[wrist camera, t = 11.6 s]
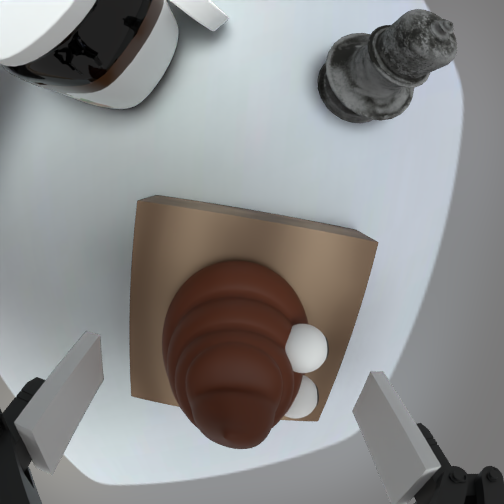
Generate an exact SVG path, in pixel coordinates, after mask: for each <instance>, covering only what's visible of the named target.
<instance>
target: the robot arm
mask: <svg viewBox="0 0 504 504" xmlns="http://www.w3.org/2000/svg"><path fill="white" fill-rule="evenodd" d="M103 380H104V376H103V366H102V354H101V339H100V334H96V333H92V332H88V331H86V332H85V333H84V334H83V335H82V336H81V338H80V339H79V340H78V341H77V342H76V344H75V345H74V346H73V347H72V348H71V350H70V351H69V352H68V353H67V354H66V356H65V357H64V358H63V359H62V361H61V362H60V363H59V364H58V365H57V367H56V368H55V369H54V370H53V372H52V373H51V374H50V375H49V377H48V378H47V379H46V380H43V379H41V378H38V377H36V378H34V379H33V380H31V381H29V382H27V384H26V385H25V386H24V387H23V388H22V390H21V391H20V392H19V393H18V395H17V397H15V398H14V400H13V401H12V402H11V403H10V405H9V406H8V407H7V408H6V410H5V411H4V412H3V413H2V412H1V409H0V504H42V502H41V500H40V497H39V495H38V492H37V489H36V486H35V483H34V480H33V477H32V474H31V471H30V469H29V467H28V466H29V464H30V462H31V460H32V461H33V463H34V465H35V467H36V468H37V469H39V470H41V471H44V472H46V473H48V474H51V475H53V474H54V472H55V469H56V467H57V465H58V463H59V461H60V459H61V457H62V455H63V454H64V452H65V450H66V448H67V446H68V444H69V442H70V440H71V438H72V436H73V434H74V432H75V430H76V429H77V427H78V425H79V423H80V421H81V419H82V417H83V416H84V414H85V412H86V410H87V408H88V406H89V405H90V403H91V401H92V399H93V398H94V396H95V394H96V392H97V390H98V389H99V387H100V385H101V383H102V382H103ZM353 414H354V416H355V418H356V421H357V423H358V425H359V428H360V430H361V432H362V435H363V437H364V439H365V442H366V444H367V447H368V449H369V452H370V454H371V456H372V459H373V461H374V464H375V466H376V469H377V471H378V473H379V476H380V478H381V481H382V483H383V486H384V488H385V491H386V493H387V496H388V498H389V501H390V503H391V504H407V503H408V502H409V501H410V500H411V499H412V498H413V497H415V499H416V502H415V503H414V504H504V481H503V476H502V474H501V472H500V471H499V470H498V469H497V468H495V467H492V466H487V467H485V468H484V469H483V470H482V471H481V472H480V473H479V474H467V473H466V472H465V471H464V470H463V469H462V468H460V467H457V466H451V465H450V463H449V462H448V460H447V458H446V457H445V455H444V454H443V452H442V450H441V449H440V447H439V445H437V442H436V441H435V439H433V436H432V434H431V433H430V431H429V430H428V429H427V428H426V427H425V426H424V425H422V424H421V423H418V424H416V423H415V421H414V420H413V418H412V416H411V415H410V413H409V412H408V410H407V408H406V407H405V405H404V403H403V402H402V401H401V399H400V397H399V396H398V394H397V392H396V391H395V389H394V388H393V386H392V385H391V383H390V381H389V380H388V378H387V377H386V375H385V374H384V372H376V371H370V374H369V376H368V378H367V381H366V383H365V385H364V387H363V390H362V392H361V394H360V396H359V398H358V400H357V402H356V405H355V407H354V409H353Z"/></svg>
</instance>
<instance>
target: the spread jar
mask: <svg viewBox="0 0 504 504" xmlns="http://www.w3.org/2000/svg"><path fill="white" fill-rule="evenodd" d="M169 1H171V2H172V3H173V4H175V5H176V6H177V7H179V8H180V9H181V10H183V11H184V12H185V13H186V14H188V15H189V16H191V17H192V18H193V19H195V20H196V21H197V22H199V23H200V24H202V25H203V26H205V27H206V28H208V29H209V30H211V31H215V30H216V29H218V28H219V27H220V26H221V25H222V24H224V23H225V22H226V21H227V20H228V19H229V17H228V16H227V15H226V14H225V13H224V12H223V11H222V10H221V9H220V8H219V7H217V6H216V5H215V4H214V3H213V2H212V1H211V0H169ZM178 36H179V30H178V25H177V22H176V20H175V17H174V15H173V13H172V11H171V9H170V7H169V4H168V2H167V1H166V0H0V64H1V65H2V66H3V67H4V68H5V69H6V70H7V71H8V72H9V73H11V74H13V75H14V76H16V77H18V78H20V79H22V80H25V81H27V82H29V83H31V84H34V85H36V86H38V87H42V88H45V89H48V90H52V91H55V92H58V93H60V94H63V95H66V96H68V97H71V98H74V99H76V100H79V101H82V102H85V103H88V104H92V105H95V106H100V107H105V108H113V109H127V108H131V107H134V106H136V105H138V104H139V103H140V102H142V101H143V100H144V99H145V98H146V97H147V96H148V95H149V94H150V93H151V91H152V90H153V89H154V88H155V86H156V85H157V84H158V82H159V81H160V79H161V78H162V76H163V75H164V73H165V71H166V69H167V68H168V66H169V64H170V62H171V59H172V57H173V55H174V52H175V49H176V46H177V41H178Z"/></svg>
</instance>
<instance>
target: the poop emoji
mask: <svg viewBox="0 0 504 504" xmlns="http://www.w3.org/2000/svg"><path fill="white" fill-rule="evenodd" d="M162 354H163V361H164V366H165V370H166V373H167V377H168V379H169V383H170V387H171V390H172V392H173V395H174V397H175V399H176V401H177V403H178V405H179V406H180V408H181V409H182V411H183V412H184V413H185V415H186V416H187V417H188V419H189V420H190V421H191V422H192V423H193V424H194V425H195V426H196V427H197V428H198V429H199V430H200V431H201V432H202V433H203V434H204V435H205V436H206V437H207V438H209V439H210V440H212V441H213V442H215V443H218V444H220V445H223V446H226V447H229V448H235V449H248V448H252V447H255V446H257V445H259V444H260V443H261V442H262V441H264V439H265V438H266V437H267V436H268V434H269V432H270V430H271V428H273V427H274V426H275V425H276V424H277V423H278V422H279V421H280V420H281V419H282V418H283V416H286V417H289V418H295V419H296V418H302V417H305V416H307V415H309V414H310V413H311V412H312V411H313V410H314V408H315V407H316V406H317V405H318V402H319V392H318V388H317V386H316V384H314V383H313V381H312V380H311V379H309V378H308V377H306V376H305V373H308V372H312V371H314V370H316V369H318V368H319V367H320V366H321V365H322V364H323V363H324V361H325V360H326V359H327V357H328V354H329V345H328V340H327V338H326V337H325V336H324V335H323V333H322V332H321V331H320V330H319V329H317V328H316V327H314V326H312V325H309V324H308V320H307V316H306V313H305V310H304V307H303V305H302V303H301V301H300V299H299V297H298V295H297V294H296V292H295V291H294V289H293V288H292V287H291V286H290V285H289V283H288V282H287V281H286V280H285V279H284V278H282V277H281V276H280V275H279V274H277V273H276V272H274V271H273V270H271V269H269V268H267V267H265V266H262V265H259V264H256V263H252V262H247V261H225V262H220V263H216V264H212V265H210V266H207V267H205V268H203V269H201V270H199V271H198V272H196V273H195V274H194V275H192V276H191V277H190V278H189V279H188V280H187V281H186V282H185V283H184V284H183V285H182V286H181V287H180V289H179V290H178V291H177V293H176V294H175V296H174V298H173V300H172V301H171V304H170V306H169V308H168V311H167V314H166V317H165V321H164V326H163V332H162Z"/></svg>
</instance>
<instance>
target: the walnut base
mask: <svg viewBox="0 0 504 504" xmlns="http://www.w3.org/2000/svg"><path fill="white" fill-rule="evenodd" d="M377 246H378V242H377V241H375V240H373V239H372V238H370V237H368V236H366V235H364V234H363V233H361V232H359V231H357V230H354V229H350V228H345V227H340V226H335V225H330V224H325V223H320V222H314V221H309V220H304V219H299V218H293V217H288V216H282V215H277V214H271V213H266V212H260V211H254V210H248V209H243V208H237V207H231V206H224V205H218V204H212V203H206V202H199V201H193V200H186V199H180V198H173V197H166V196H159V195H155V196H152V197H148V198H145V199H141V200H138V201H137V209H136V218H135V228H134V239H133V252H132V267H131V287H130V379H131V396H133V397H137V398H141V399H145V400H150V401H154V402H159V403H163V404H168V405H173V406H178V407H180V406H179V405H178V403H177V401H176V399H175V397H174V395H173V392H172V390H171V387H170V383H169V379H168V377H167V373H166V370H165V366H164V361H163V354H162V332H163V326H164V321H165V317H166V314H167V311H168V308H169V306H170V304H171V301H172V300H173V298H174V296H175V294H176V293H177V291H178V290H179V289H180V287H181V286H182V285H183V284H184V283H185V282H186V281H187V280H188V279H189V278H190V277H191V276H192V275H194V274H195V273H196V272H198V271H199V270H201V269H203V268H205V267H207V266H210V265H212V264H216V263H220V262H225V261H247V262H252V263H256V264H259V265H262V266H265V267H267V268H269V269H271V270H273V271H274V272H276V273H277V274H279V275H280V276H281V277H282V278H284V279H285V280H286V281H287V282H288V283H289V285H290V286H291V287H292V288H293V289H294V291H295V292H296V294H297V295H298V297H299V299H300V301H301V303H302V305H303V307H304V310H305V313H306V316H307V320H308V324H309V325H312V326H314V327H316V328H317V329H319V330H320V331H321V332H322V333H323V335H324V336H325V337H326V338H327V340H328V345H329V354H328V357H327V359H326V360H325V361H324V363H323V364H322V365H321V366H320V367H319V368H318V369H316V370H314V371H312V372H308V373H305V376H306V377H308V378H309V379H311V380H312V381H313V383H314V384H316V386H317V388H318V392H319V402H318V405H317V406H316V407H315V408H314V410H313V411H312V412H311V413H310V414H309V415H307V416H305V417H302V418H296V419H295V418H289V417H286V416H283V418H282V419H281V420H294V421H318V420H319V418H320V415H321V413H322V411H323V408H324V406H325V404H326V401H327V399H328V396H329V394H330V391H331V389H332V386H333V384H334V381H335V379H336V376H337V373H338V371H339V368H340V365H341V363H342V360H343V357H344V355H345V352H346V349H347V346H348V343H349V340H350V337H351V334H352V331H353V328H354V325H355V322H356V319H357V316H358V313H359V310H360V307H361V303H362V300H363V297H364V293H365V290H366V287H367V283H368V280H369V276H370V272H371V269H372V265H373V261H374V258H375V254H376V250H377Z"/></svg>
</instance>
